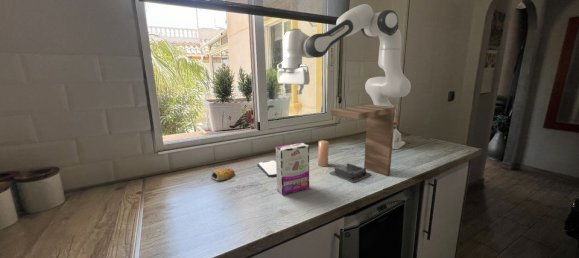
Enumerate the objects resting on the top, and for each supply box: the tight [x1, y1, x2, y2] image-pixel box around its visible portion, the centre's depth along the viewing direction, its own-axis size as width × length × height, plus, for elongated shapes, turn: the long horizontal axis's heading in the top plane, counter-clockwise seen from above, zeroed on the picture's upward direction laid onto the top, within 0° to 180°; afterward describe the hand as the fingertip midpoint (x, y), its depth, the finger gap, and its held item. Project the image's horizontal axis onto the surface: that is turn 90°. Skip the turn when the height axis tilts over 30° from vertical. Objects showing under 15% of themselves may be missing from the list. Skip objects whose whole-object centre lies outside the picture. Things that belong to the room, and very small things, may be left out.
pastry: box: [210, 168, 235, 182], centre depth 105 cm, size 9×7×4 cm
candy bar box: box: [275, 142, 310, 196], centre depth 91 cm, size 11×5×16 cm, turn 118°
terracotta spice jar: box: [317, 140, 330, 168], centre depth 116 cm, size 4×4×11 cm
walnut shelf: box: [330, 104, 396, 177], centre depth 100 cm, size 24×12×28 cm, turn 130°
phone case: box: [257, 160, 277, 178], centre depth 113 cm, size 9×2×16 cm
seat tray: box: [329, 162, 372, 184], centre depth 106 cm, size 12×12×3 cm
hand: (292, 93), depth 127 cm, fingers open, 8 cm apart
